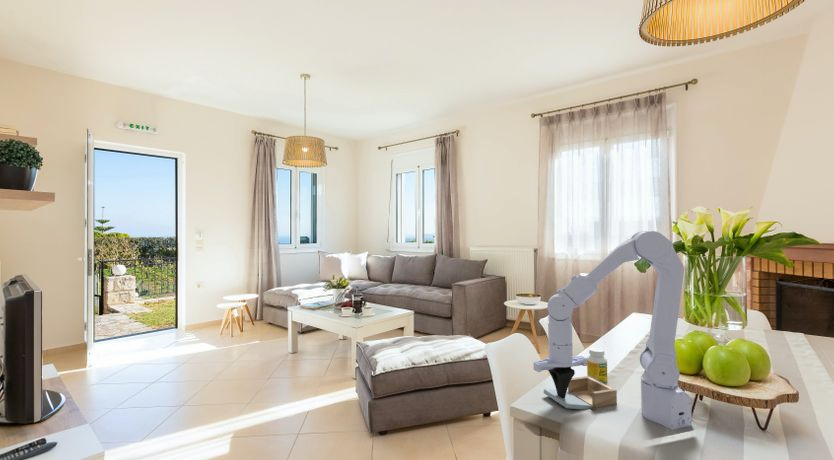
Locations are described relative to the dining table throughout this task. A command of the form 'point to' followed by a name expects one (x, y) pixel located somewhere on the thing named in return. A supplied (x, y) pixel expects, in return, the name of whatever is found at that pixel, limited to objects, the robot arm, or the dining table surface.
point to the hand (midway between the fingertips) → (561, 396)
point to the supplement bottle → (597, 365)
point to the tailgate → (567, 400)
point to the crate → (592, 392)
